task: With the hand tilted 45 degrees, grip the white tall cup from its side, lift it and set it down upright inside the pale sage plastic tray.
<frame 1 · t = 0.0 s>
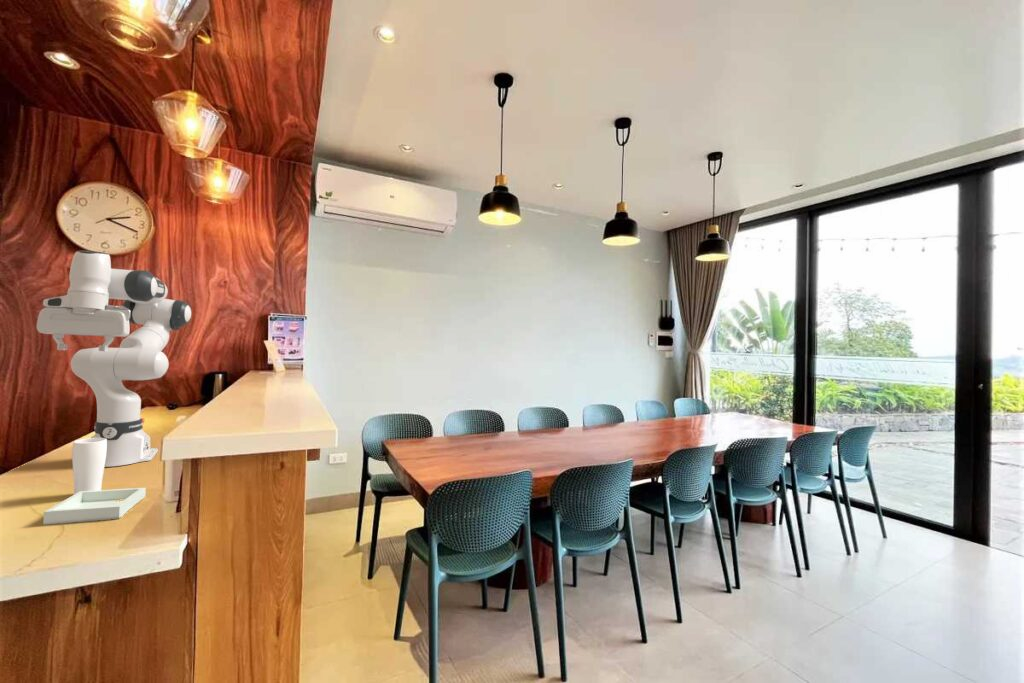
hand: (82, 350, 127), 39 cm above the table, tool pointing down, fingers open, 8 cm apart
tray: (98, 510, 109), on the table
white tall cup: (87, 496, 118), on the table
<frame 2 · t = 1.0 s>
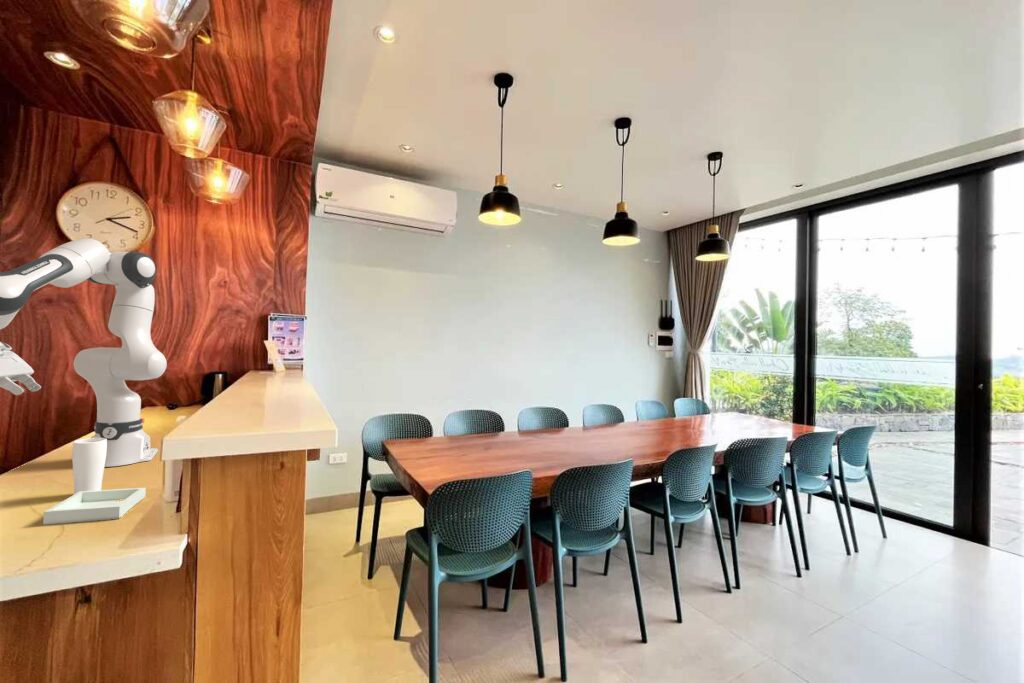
hand: (29, 391, 112), 29 cm above the table, tool tilted 45°, fingers open, 8 cm apart
nothing on the table moved.
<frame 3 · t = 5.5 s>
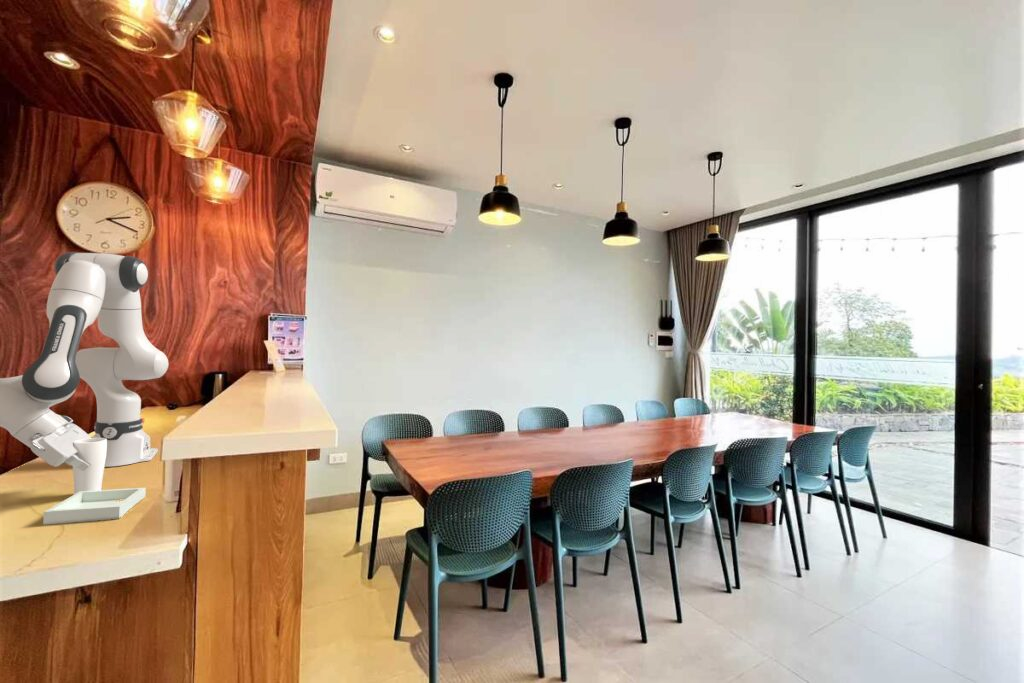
hand: (92, 464, 119), 8 cm above the table, tool tilted 45°, fingers closed on white tall cup, 6 cm apart
white tall cup: (87, 496, 118), on the table, touching gripper
when the fingers open (10 cm above the table, at t = 11.7 s): white tall cup moves 2 cm, resting on tray.
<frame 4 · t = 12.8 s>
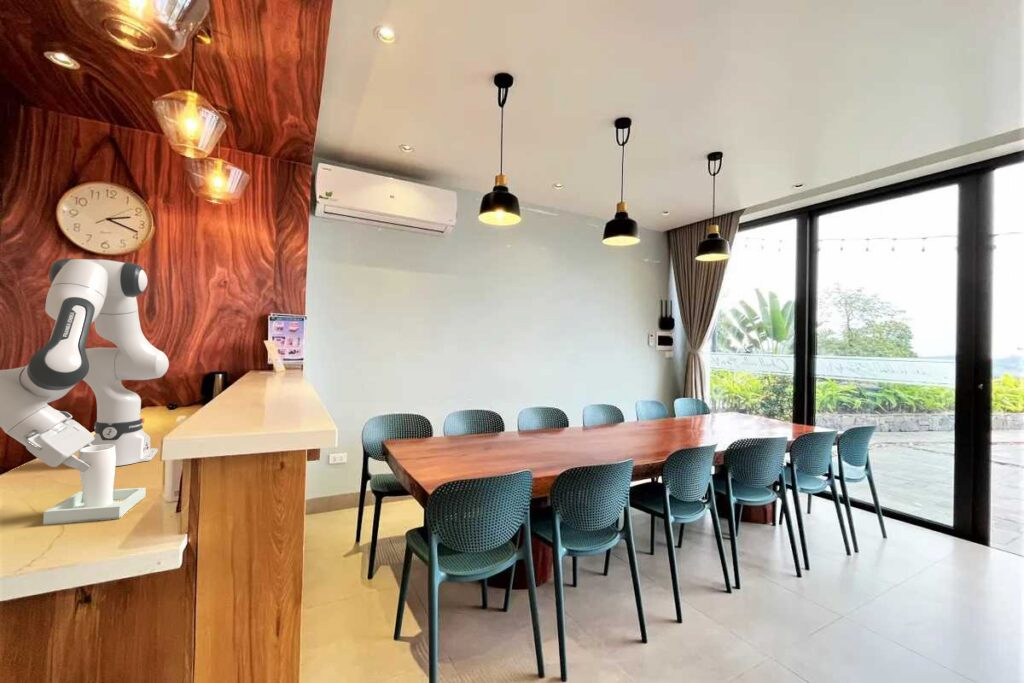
hand: (94, 464, 108), 12 cm above the table, tool tilted 45°, fingers open, 8 cm apart
white tall cup: (98, 506, 110), resting on tray
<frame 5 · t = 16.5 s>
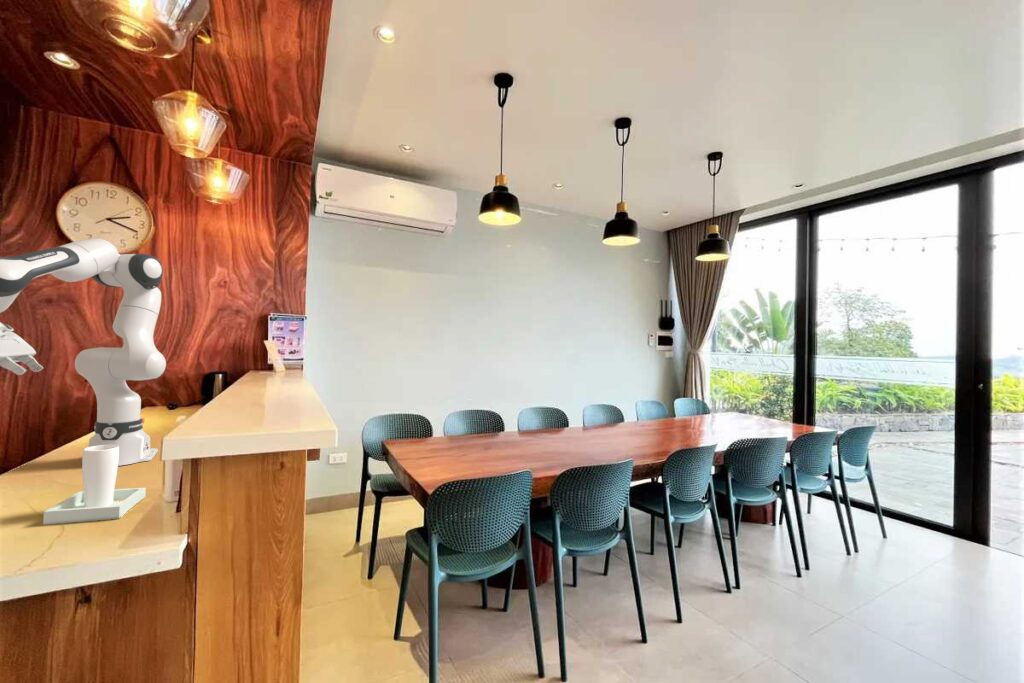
hand: (31, 371, 115), 33 cm above the table, tool tilted 45°, fingers open, 8 cm apart
at the end: white tall cup inside the target area on the tray (1.4 cm from its centre), point 0.3 cm above the tray's base; white tall cup tilted 0°; the gripper is holding nothing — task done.
